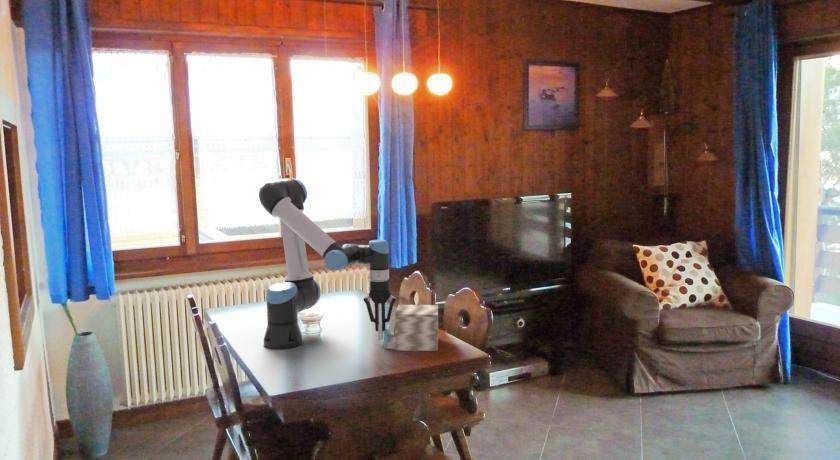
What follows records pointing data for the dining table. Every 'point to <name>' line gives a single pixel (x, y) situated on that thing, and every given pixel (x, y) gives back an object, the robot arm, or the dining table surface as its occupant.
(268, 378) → the dining table surface
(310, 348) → the dining table surface
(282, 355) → the dining table surface
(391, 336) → the tray
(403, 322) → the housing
